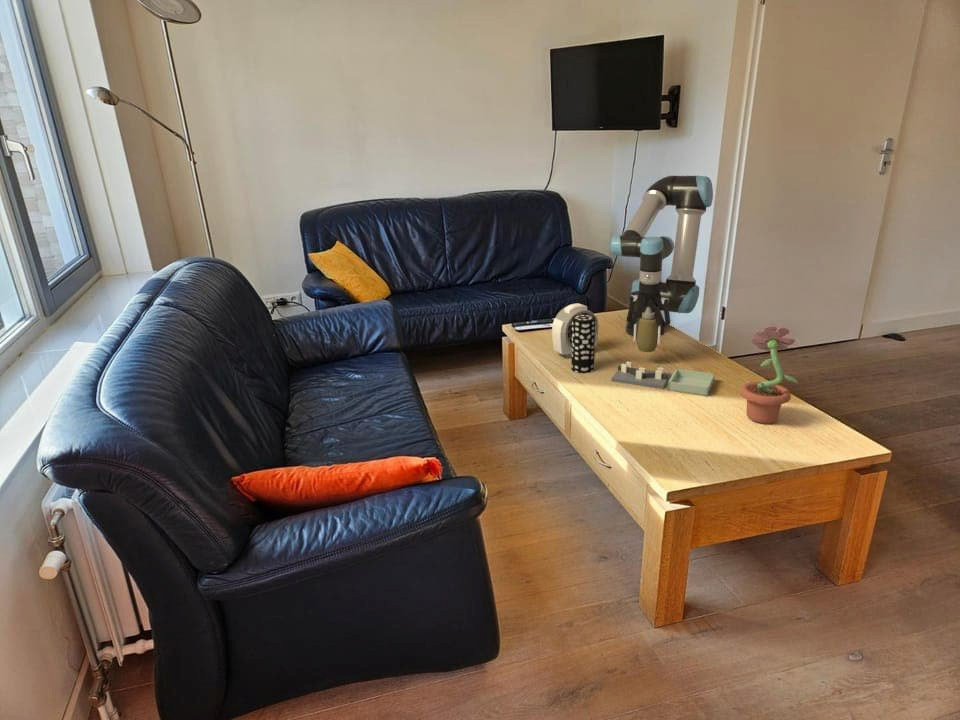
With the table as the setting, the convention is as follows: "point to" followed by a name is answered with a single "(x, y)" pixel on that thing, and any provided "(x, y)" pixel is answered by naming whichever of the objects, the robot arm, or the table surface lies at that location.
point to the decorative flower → (768, 394)
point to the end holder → (691, 382)
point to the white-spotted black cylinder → (583, 343)
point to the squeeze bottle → (647, 331)
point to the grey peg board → (641, 376)
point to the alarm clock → (568, 328)
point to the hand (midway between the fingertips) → (647, 341)
